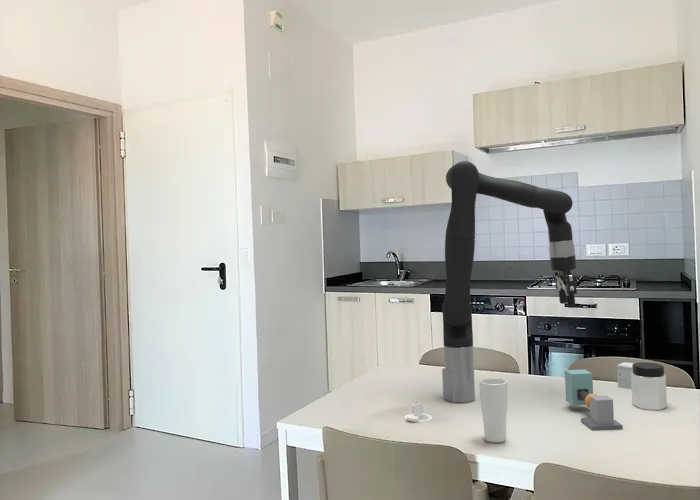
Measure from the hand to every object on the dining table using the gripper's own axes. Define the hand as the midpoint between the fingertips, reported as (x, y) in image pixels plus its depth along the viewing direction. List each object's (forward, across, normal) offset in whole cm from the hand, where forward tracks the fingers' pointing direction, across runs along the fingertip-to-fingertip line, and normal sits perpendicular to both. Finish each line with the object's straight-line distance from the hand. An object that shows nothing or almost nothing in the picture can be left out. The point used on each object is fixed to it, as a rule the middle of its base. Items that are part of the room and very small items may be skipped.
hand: (567, 305), depth 177 cm
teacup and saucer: (+25, +22, -54) cm, 64 cm away
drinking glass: (+25, +41, -32) cm, 58 cm away
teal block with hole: (+26, +17, -4) cm, 31 cm away
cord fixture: (+28, +23, -4) cm, 36 cm away
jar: (+30, +15, +16) cm, 37 cm away
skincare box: (+30, -7, +19) cm, 37 cm away
